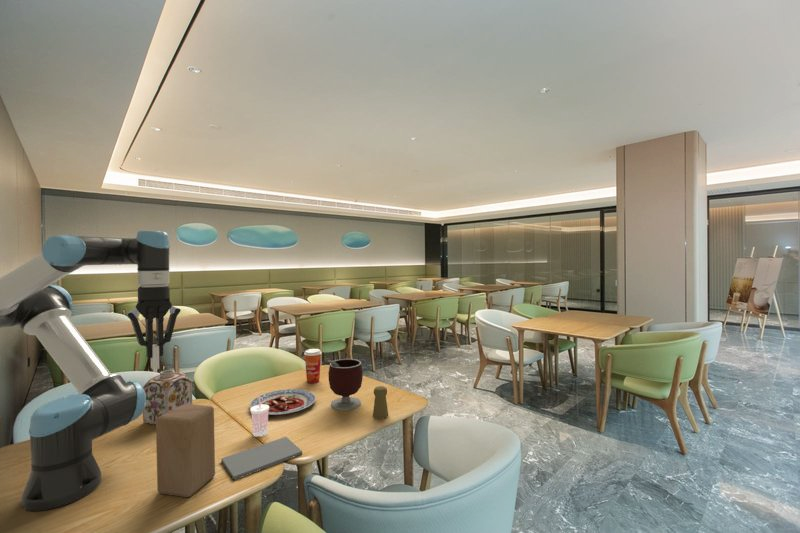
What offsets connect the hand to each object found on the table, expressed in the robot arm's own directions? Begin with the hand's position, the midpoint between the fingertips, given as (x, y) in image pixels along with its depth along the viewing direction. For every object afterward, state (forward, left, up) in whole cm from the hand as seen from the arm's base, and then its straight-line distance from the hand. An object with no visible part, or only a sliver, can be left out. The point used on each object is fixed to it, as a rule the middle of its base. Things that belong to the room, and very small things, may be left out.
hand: (155, 368), depth 104 cm
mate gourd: (+65, +4, -30) cm, 72 cm away
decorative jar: (+8, +37, -30) cm, 48 cm away
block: (+5, -14, -30) cm, 33 cm away
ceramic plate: (+46, +20, -30) cm, 59 cm away
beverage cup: (+30, +2, -30) cm, 42 cm away
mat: (+25, -14, -29) cm, 41 cm away
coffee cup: (+69, +39, -30) cm, 85 cm away
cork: (+70, -14, -30) cm, 77 cm away
